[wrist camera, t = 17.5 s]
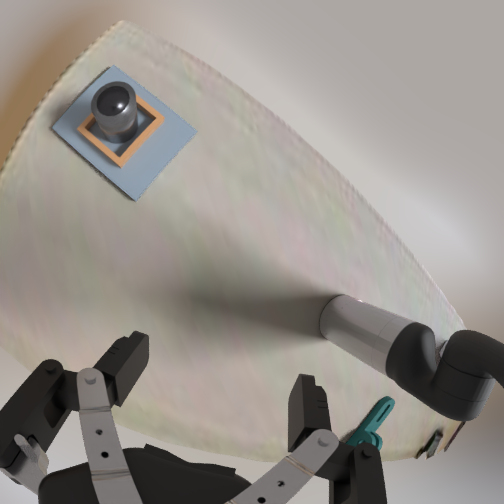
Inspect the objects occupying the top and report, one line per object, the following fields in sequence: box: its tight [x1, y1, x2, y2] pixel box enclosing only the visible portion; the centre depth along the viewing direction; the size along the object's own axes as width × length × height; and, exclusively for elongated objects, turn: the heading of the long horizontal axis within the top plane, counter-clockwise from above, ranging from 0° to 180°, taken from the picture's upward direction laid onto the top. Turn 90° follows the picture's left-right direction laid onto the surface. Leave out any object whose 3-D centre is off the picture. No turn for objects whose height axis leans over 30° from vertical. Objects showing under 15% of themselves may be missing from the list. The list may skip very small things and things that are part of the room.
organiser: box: [52, 65, 197, 202], centre depth 31 cm, size 18×13×3 cm
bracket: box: [345, 396, 395, 450], centre depth 57 cm, size 18×7×8 cm, turn 144°
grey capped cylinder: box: [91, 81, 138, 144], centre depth 27 cm, size 5×5×9 cm
